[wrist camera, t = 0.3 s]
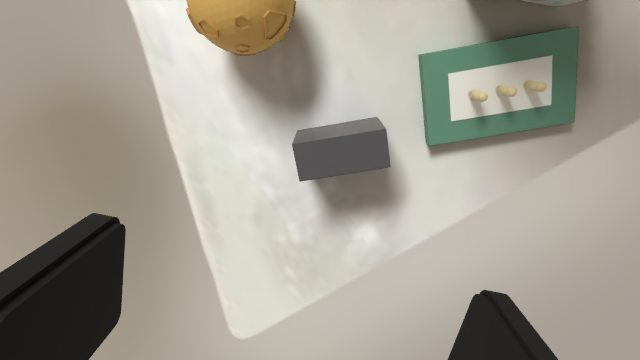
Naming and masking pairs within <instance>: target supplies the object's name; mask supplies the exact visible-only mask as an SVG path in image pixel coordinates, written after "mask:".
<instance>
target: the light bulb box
mask: <svg viewBox="0 0 640 360" xmlns="http://www.w3.org/2000/svg"><path fill="white" fill-rule="evenodd" d="M521 1H526V2H531V3H537V4H542V5H547V6H553V7H557V6H562V5H566V4H571V3H576V2H581V1H586V0H521Z"/></svg>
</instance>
